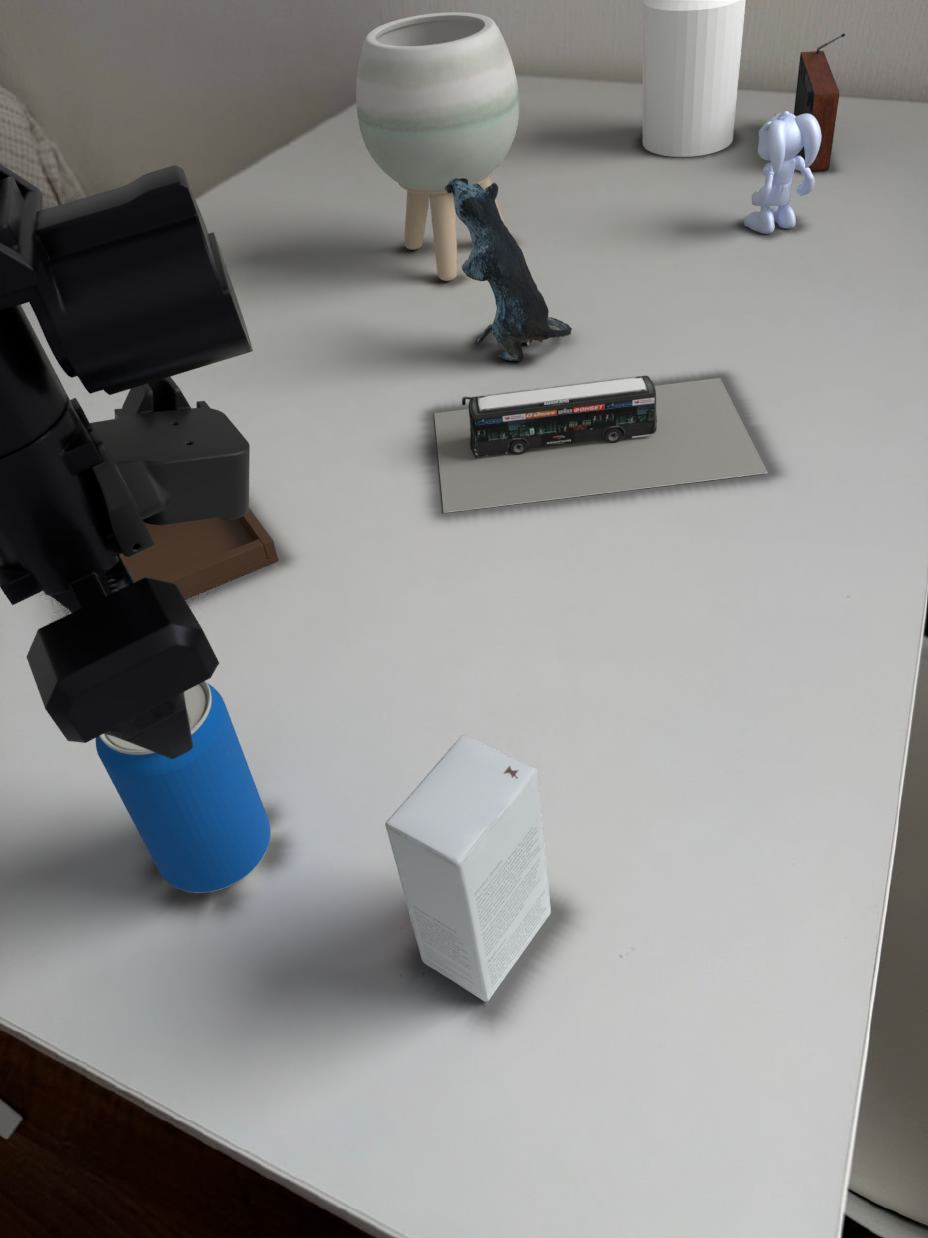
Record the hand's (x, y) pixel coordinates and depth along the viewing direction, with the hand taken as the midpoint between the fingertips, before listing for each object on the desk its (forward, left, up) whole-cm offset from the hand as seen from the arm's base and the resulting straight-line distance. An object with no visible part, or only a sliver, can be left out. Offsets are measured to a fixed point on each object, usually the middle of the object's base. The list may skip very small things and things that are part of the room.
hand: (153, 692), depth 50 cm
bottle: (+89, +70, -13) cm, 114 cm away
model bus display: (+40, +21, -13) cm, 47 cm away
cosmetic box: (+10, -13, -13) cm, 21 cm away
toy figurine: (+79, +43, -13) cm, 90 cm away
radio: (+97, +57, -13) cm, 113 cm away
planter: (+49, +60, -13) cm, 78 cm away
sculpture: (+44, +39, -13) cm, 60 cm away
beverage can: (0, 0, -13) cm, 13 cm away
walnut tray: (+6, +28, -13) cm, 31 cm away
